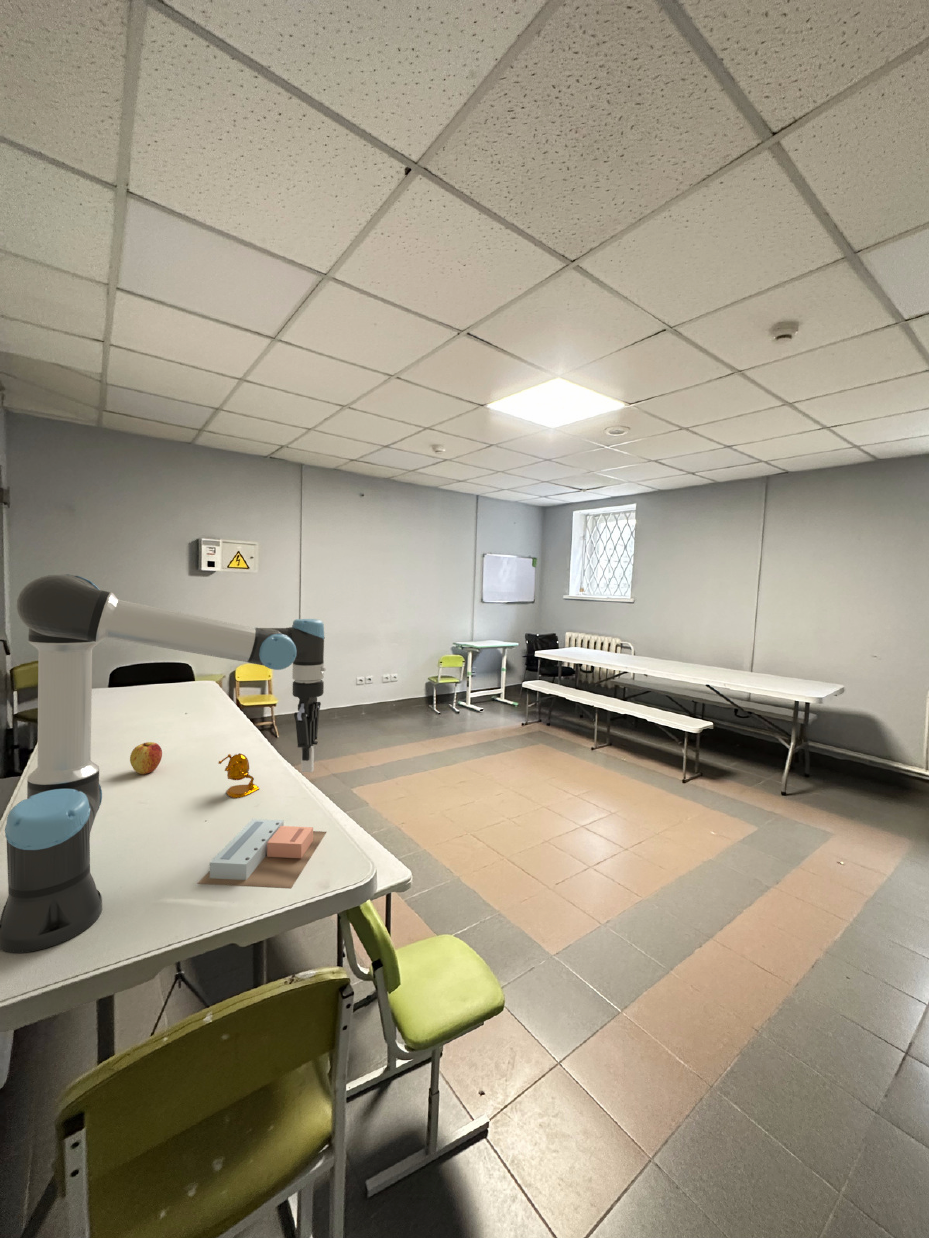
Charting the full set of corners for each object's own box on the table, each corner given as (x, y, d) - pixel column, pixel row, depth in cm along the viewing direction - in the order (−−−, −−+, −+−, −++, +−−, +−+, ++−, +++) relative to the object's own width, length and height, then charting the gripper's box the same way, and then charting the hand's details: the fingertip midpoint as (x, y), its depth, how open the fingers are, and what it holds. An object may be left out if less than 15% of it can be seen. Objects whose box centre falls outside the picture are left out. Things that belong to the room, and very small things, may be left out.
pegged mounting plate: (246, 879, 106) (246, 863, 106) (209, 878, 107) (209, 861, 106) (283, 833, 126) (283, 819, 126) (252, 832, 127) (252, 818, 126)
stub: (301, 858, 115) (301, 843, 115) (267, 856, 115) (267, 842, 115) (313, 840, 123) (313, 826, 123) (281, 839, 123) (281, 825, 123)
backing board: (291, 891, 104) (291, 888, 104) (197, 886, 105) (197, 883, 105) (326, 834, 128) (326, 831, 128) (250, 830, 129) (250, 827, 129)
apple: (159, 775, 163) (158, 745, 162) (126, 778, 159) (126, 748, 159) (164, 766, 171) (164, 737, 170) (133, 768, 168) (133, 739, 167)
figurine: (217, 791, 152) (217, 753, 151) (254, 783, 159) (254, 746, 158) (225, 801, 145) (225, 761, 145) (263, 792, 152) (263, 754, 151)
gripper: (314, 685, 119) (313, 781, 121) (330, 675, 133) (329, 762, 134) (283, 684, 120) (282, 780, 121) (302, 674, 133) (302, 761, 134)
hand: (307, 770), depth 128 cm, fingers closed
